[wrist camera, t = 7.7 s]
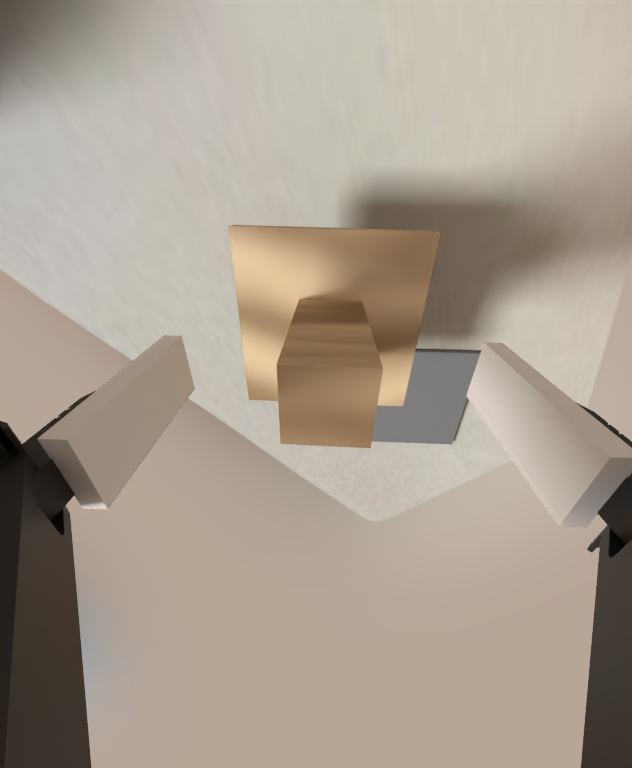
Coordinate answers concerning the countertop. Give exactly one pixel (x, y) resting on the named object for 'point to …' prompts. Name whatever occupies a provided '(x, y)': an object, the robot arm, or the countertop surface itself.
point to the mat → (429, 399)
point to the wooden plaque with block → (330, 323)
